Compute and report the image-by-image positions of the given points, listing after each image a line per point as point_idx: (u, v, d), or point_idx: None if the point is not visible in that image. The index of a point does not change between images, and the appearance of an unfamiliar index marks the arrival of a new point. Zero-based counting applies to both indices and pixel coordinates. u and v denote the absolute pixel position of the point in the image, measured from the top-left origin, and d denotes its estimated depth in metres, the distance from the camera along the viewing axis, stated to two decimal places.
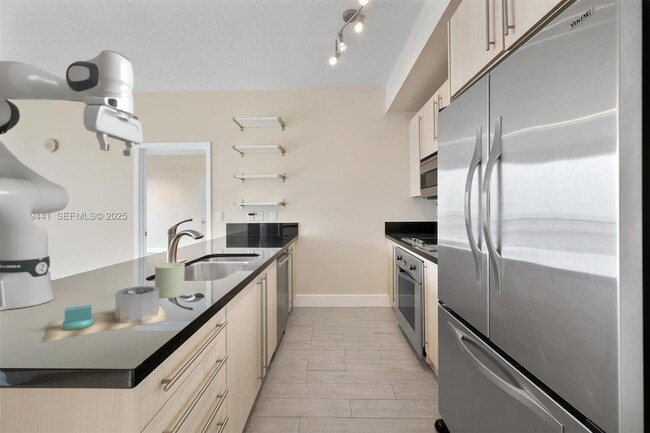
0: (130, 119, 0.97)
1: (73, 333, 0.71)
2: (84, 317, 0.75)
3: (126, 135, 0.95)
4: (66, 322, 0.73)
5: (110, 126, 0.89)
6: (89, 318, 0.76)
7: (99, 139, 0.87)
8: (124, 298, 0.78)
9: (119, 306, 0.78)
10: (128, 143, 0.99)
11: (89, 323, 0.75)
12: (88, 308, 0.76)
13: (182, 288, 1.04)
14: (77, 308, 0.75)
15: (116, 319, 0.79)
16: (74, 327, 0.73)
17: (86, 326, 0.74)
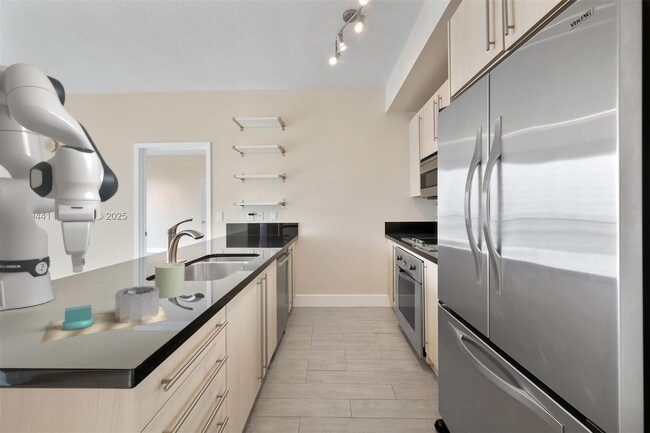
0: None
1: (73, 333, 0.71)
2: (84, 317, 0.75)
3: (88, 243, 0.77)
4: (66, 322, 0.73)
5: None
6: (89, 318, 0.76)
7: (75, 261, 0.70)
8: (124, 298, 0.78)
9: (119, 306, 0.78)
10: None
11: (89, 323, 0.75)
12: (88, 308, 0.76)
13: (182, 288, 1.04)
14: (77, 308, 0.75)
15: (116, 319, 0.79)
16: (74, 327, 0.73)
17: (86, 326, 0.74)
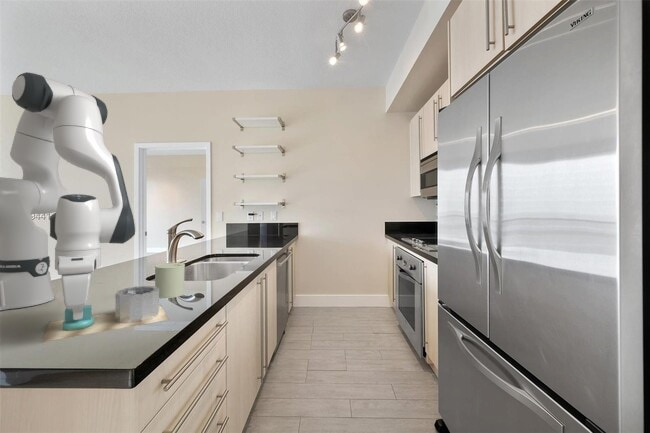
0: None
1: (73, 333, 0.71)
2: (84, 317, 0.75)
3: None
4: (66, 322, 0.73)
5: None
6: (89, 318, 0.76)
7: (75, 309, 0.72)
8: (124, 298, 0.78)
9: (119, 306, 0.78)
10: None
11: (89, 323, 0.75)
12: (88, 308, 0.76)
13: (182, 288, 1.04)
14: None
15: (116, 319, 0.79)
16: (74, 327, 0.73)
17: (86, 326, 0.74)
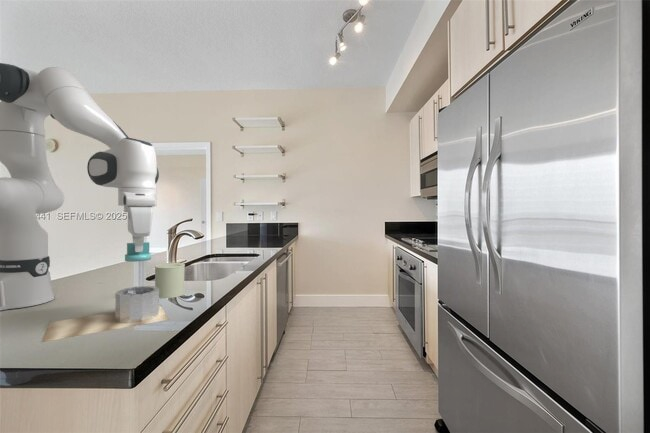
0: None
1: (73, 333, 0.71)
2: (143, 251, 0.82)
3: None
4: (128, 254, 0.80)
5: None
6: (147, 253, 0.83)
7: (137, 241, 0.79)
8: (124, 298, 0.78)
9: (119, 306, 0.78)
10: None
11: (148, 256, 0.82)
12: (147, 243, 0.83)
13: (182, 288, 1.04)
14: None
15: (116, 319, 0.79)
16: (136, 258, 0.80)
17: (146, 259, 0.81)
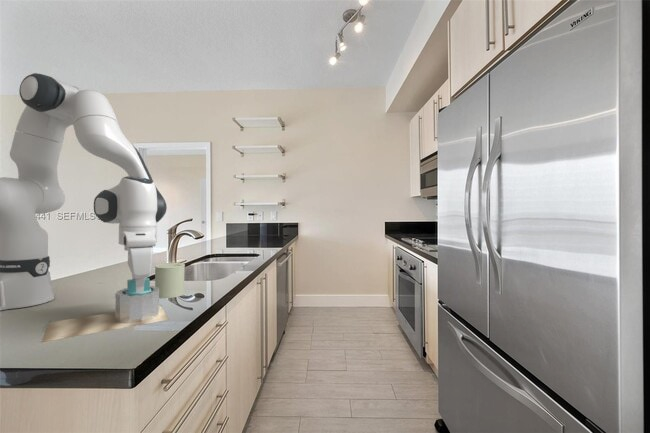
0: None
1: (73, 333, 0.71)
2: (144, 288, 0.83)
3: None
4: (129, 292, 0.81)
5: None
6: (148, 289, 0.83)
7: (138, 282, 0.77)
8: (124, 298, 0.78)
9: (119, 306, 0.78)
10: None
11: None
12: (147, 280, 0.83)
13: (182, 288, 1.04)
14: None
15: (116, 319, 0.79)
16: None
17: None
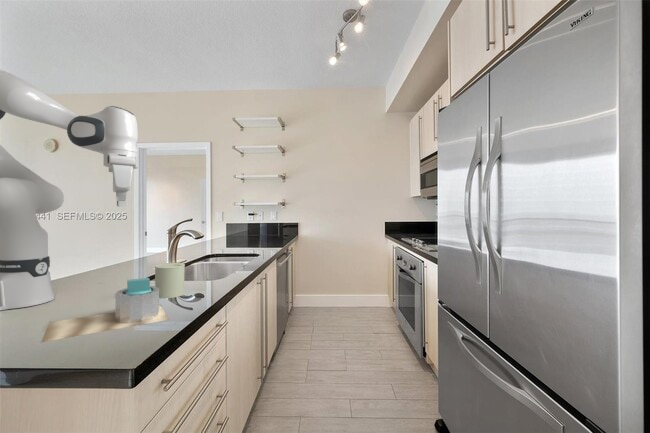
0: None
1: (73, 333, 0.71)
2: (144, 288, 0.83)
3: None
4: (129, 292, 0.81)
5: None
6: (148, 289, 0.83)
7: (120, 196, 0.89)
8: (124, 298, 0.78)
9: (119, 306, 0.78)
10: None
11: None
12: (147, 280, 0.83)
13: (182, 288, 1.04)
14: (137, 280, 0.82)
15: (116, 319, 0.79)
16: None
17: None
